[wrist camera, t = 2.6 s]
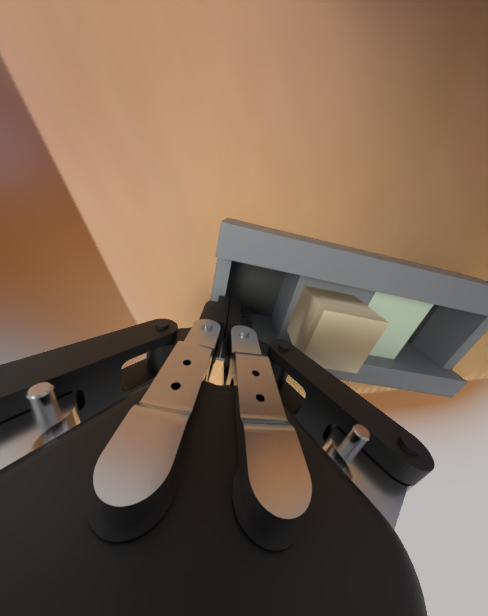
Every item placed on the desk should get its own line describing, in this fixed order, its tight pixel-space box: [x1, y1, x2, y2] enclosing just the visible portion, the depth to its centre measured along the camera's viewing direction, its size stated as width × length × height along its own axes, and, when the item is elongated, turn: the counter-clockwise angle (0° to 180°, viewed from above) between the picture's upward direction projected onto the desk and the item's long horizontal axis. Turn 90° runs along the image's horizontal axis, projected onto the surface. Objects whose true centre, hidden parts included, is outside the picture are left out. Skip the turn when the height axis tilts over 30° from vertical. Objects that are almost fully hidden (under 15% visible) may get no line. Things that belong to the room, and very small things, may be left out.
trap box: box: [211, 218, 488, 397], centre depth 17 cm, size 10×23×6 cm, turn 77°
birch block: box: [287, 285, 389, 373], centre depth 14 cm, size 4×4×4 cm
